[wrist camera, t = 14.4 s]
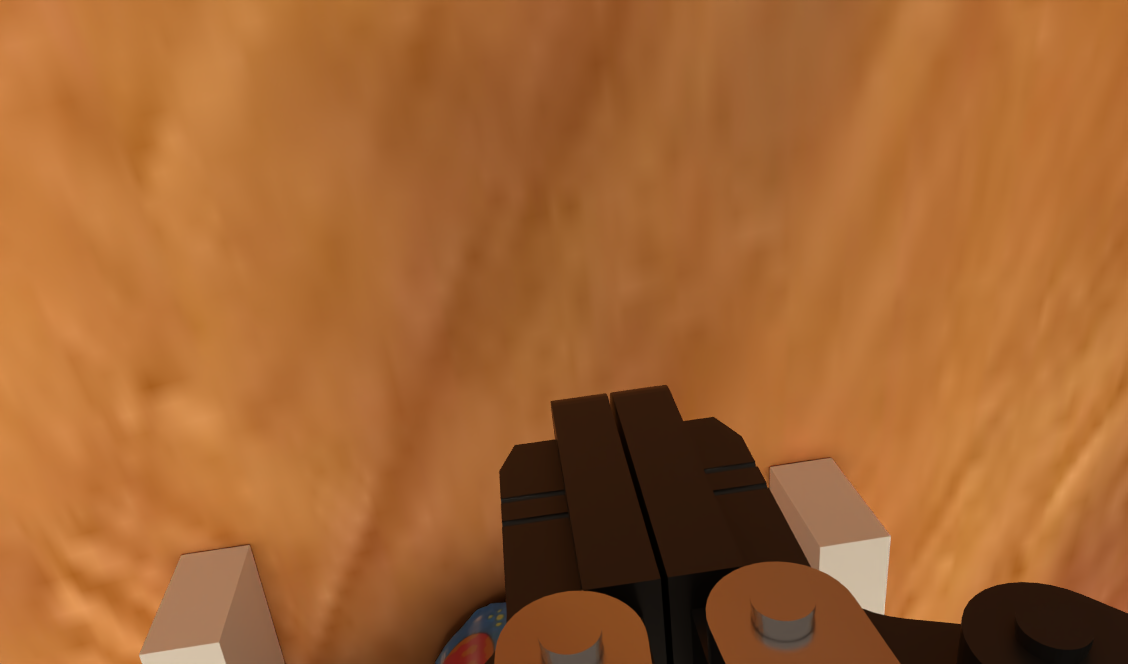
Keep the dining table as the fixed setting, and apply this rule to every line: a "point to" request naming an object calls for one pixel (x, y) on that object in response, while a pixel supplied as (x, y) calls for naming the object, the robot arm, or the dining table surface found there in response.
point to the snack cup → (476, 637)
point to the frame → (250, 645)
